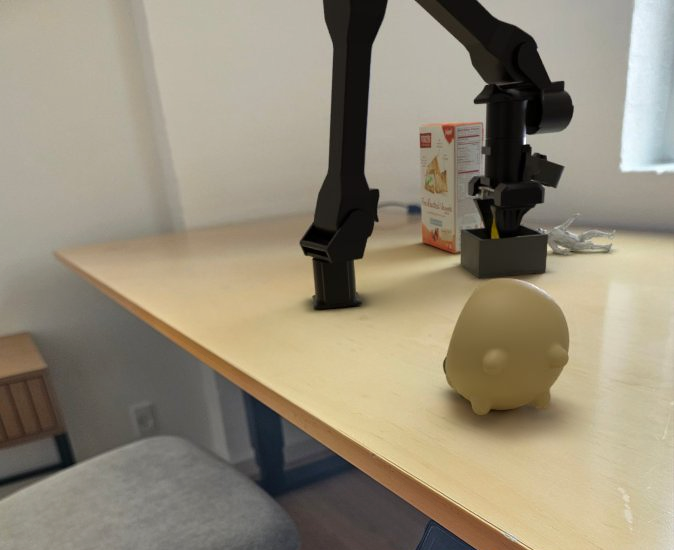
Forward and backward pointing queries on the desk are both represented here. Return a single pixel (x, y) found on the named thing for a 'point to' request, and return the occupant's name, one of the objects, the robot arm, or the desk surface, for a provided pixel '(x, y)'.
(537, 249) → the basket
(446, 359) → the toy pig
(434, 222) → the cracker box
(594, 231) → the soldier figure
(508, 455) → the desk surface
